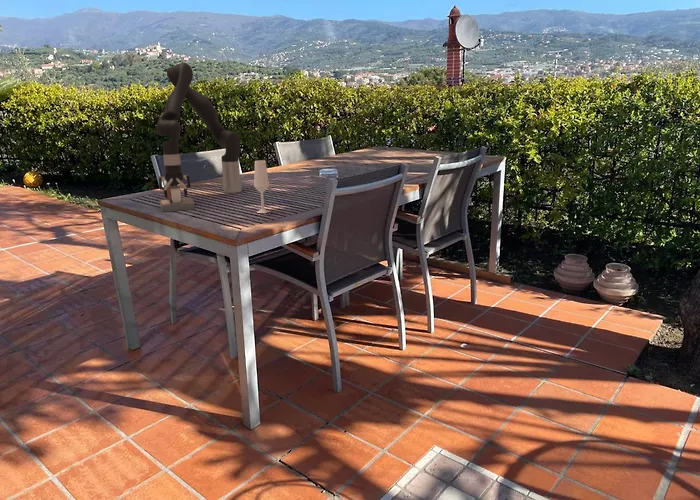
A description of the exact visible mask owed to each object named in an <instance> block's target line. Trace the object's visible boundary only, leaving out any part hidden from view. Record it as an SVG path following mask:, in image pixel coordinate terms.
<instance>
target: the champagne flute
mask: <svg viewBox="0 0 700 500" xmlns="http://www.w3.org/2000/svg"><path fill="white" fill-rule="evenodd" d="M267 169H268V168H267V162H266V160H265V159H263V160H261V159H260V160H255V161H254V173H253V175H254V176H253V177H254V178H253V186H254V188H255V189H256V190H257V191H258V192H259V193H260V205H261V206H260V208H261V209H259V210H258V211H256V212H257V213H267V212H270V211H269V210H267V209H265V201H264V198H265V197H264V192H266V191H267V190H268V188H269V186H270V182H269V176H268V170H267Z"/></svg>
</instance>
